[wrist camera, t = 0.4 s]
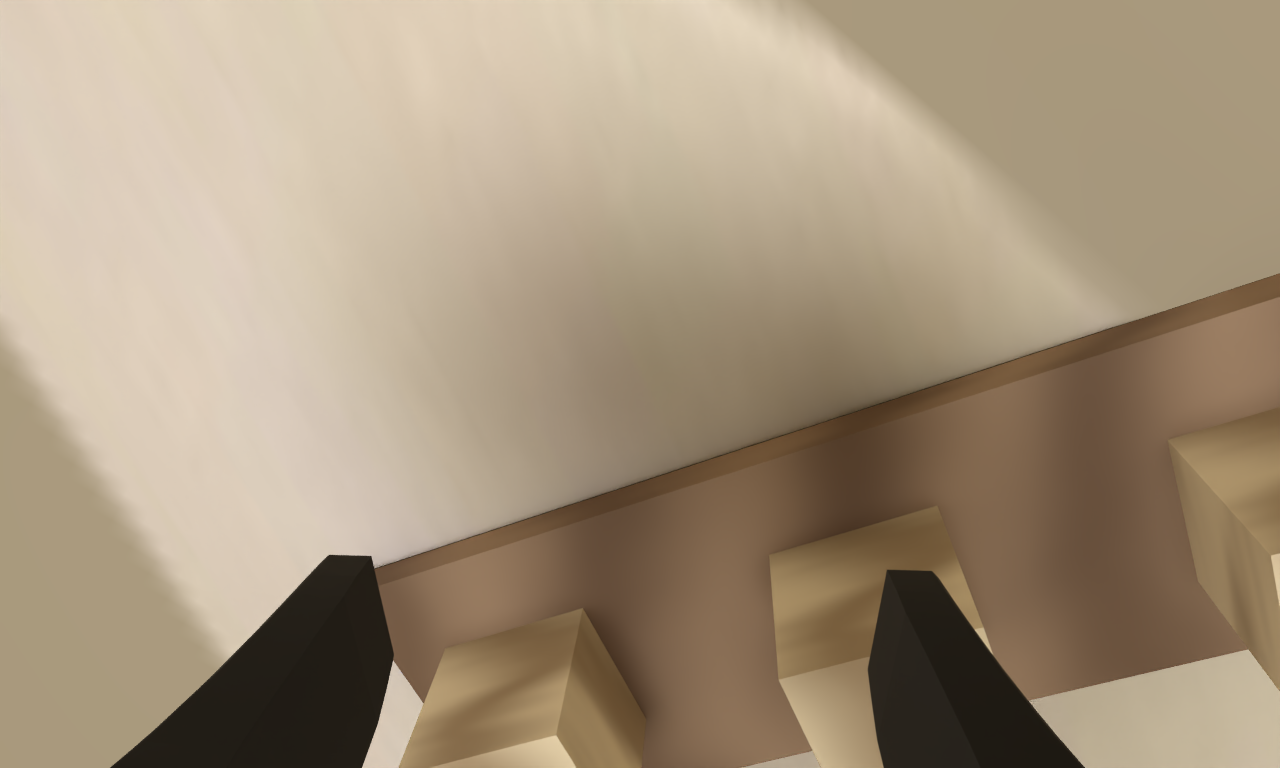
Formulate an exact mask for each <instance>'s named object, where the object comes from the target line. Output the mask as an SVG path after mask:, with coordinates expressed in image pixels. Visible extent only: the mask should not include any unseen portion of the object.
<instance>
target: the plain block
mask: <svg viewBox="0 0 1280 768" xmlns="http://www.w3.org/2000/svg"><path fill="white" fill-rule="evenodd" d="M769 559H770V573H771V586H772V599H773V612H774V626H775V639H776V652H777V666H778V679H779V682H780V684H781V686H782V688H783V690H784V692H785V694H786V696H787V698H788V700H789V703H790V705H791V707H792V709H793V711H794V713H795V715H796V717H797V719H798V721H799V723H800V725H801V728H802V730H803V732H804V734H805V736H806V738H807V740H808V742H809V744H810V746H811V748H812V750H813V753H814V755H815V757H816V759H817V761H818V763H819V765H820V767H821V768H884V767H883V763H882V759H881V755H880V751H879V746H878V742H877V736H876V729H875V722H874V715H873V709H872V701H871V693H870V685H869V677H868V664H869V659H870V654H871V649H872V644H873V639H874V634H875V628H876V623H877V618H878V613H879V608H880V603H881V598H882V592H883V587H884V582H885V577H886V572H887V570H920V571H933V572H934V573H935V574H936V576H937V577H938V578H939V579H940V581H941V582H942V584H943V585H944V587H945V588H946V589H947V591H948V592H949V594H950V595H951V597H952V598H953V600H954V601H955V603H956V604H957V606H958V607H959V608H960V610H961V611H962V613H963V614H964V616H965V617H966V618H967V620H968V621H969V623H970V624H971V626H972V627H973V628H974V630H975V631H976V633H977V634H978V635H979V637H980V638H981V639H982V641H983V642H984V644H985V645H986V646H987V648H988V649H989V650H990V652H991V653H992V650H991V647H990V645H989V642H988V639H987V636H986V633H985V630H984V627H983V625H982V622H981V619H980V617H979V614H978V611H977V609H976V606H975V604H974V601H973V598H972V596H971V593H970V590H969V588H968V585H967V583H966V580H965V577H964V575H963V572H962V569H961V567H960V564H959V562H958V559H957V556H956V554H955V551H954V548H953V546H952V543H951V540H950V538H949V535H948V533H947V530H946V527H945V525H944V522H943V519H942V517H941V514H940V512H939V509H938V506H934V507H931V508H928V509H924V510H921V511H917V512H914V513H911V514H907V515H904V516H900V517H897V518H893V519H890V520H887V521H883V522H880V523H876V524H873V525H870V526H866V527H863V528H859V529H856V530H853V531H849V532H846V533H842V534H839V535H836V536H832V537H829V538H825V539H822V540H818V541H815V542H812V543H808V544H805V545H801V546H798V547H795V548H791V549H788V550H784V551H781V552H778V553H774V554H771V555H769ZM992 654H993V653H992Z"/></svg>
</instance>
